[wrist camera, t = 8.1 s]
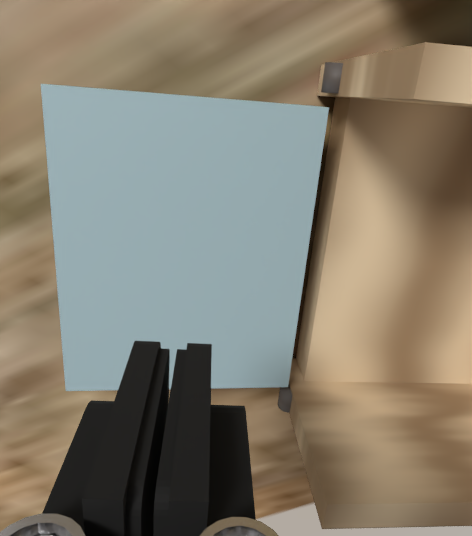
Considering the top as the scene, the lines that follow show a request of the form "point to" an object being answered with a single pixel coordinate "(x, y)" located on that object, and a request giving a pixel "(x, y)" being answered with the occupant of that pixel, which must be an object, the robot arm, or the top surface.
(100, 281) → the door
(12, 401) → the top surface
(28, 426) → the top surface
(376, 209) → the cabinet
